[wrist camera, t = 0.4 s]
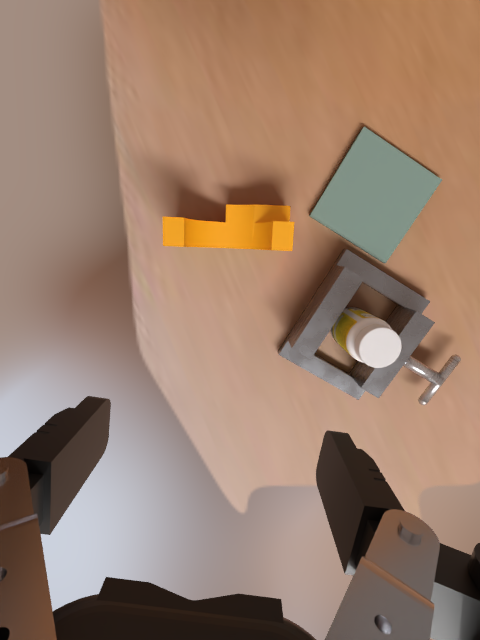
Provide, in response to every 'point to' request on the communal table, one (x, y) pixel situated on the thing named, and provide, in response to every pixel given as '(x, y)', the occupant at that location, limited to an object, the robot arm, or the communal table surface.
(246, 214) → the pipe clamp
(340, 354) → the communal table surface
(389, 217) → the mat
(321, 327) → the vise
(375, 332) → the supplement bottle
